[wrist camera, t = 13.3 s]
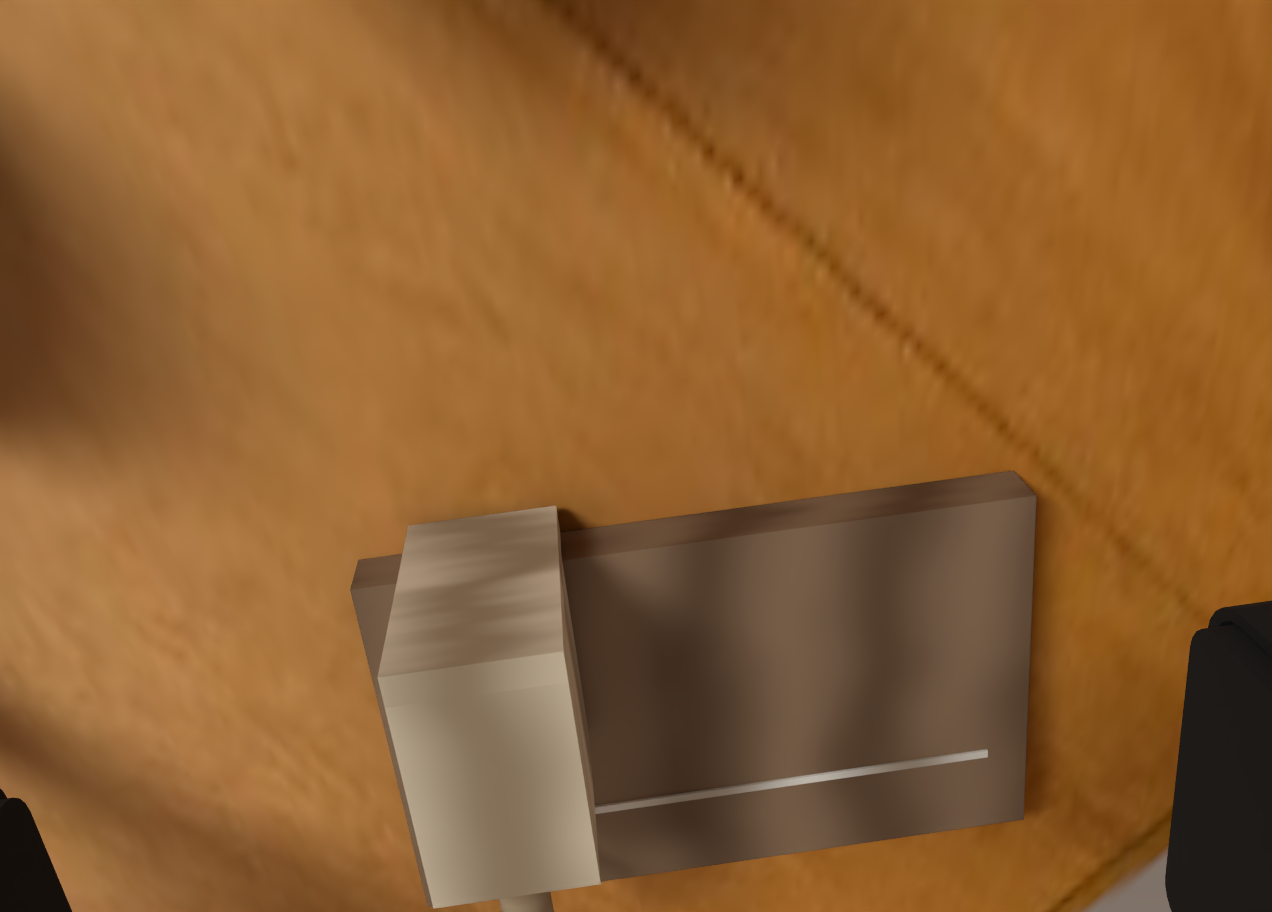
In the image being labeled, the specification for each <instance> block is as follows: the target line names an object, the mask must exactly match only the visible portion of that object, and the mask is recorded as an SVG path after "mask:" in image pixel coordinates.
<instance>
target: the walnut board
mask: <svg viewBox="0 0 1272 912" xmlns="http://www.w3.org/2000/svg"><path fill="white" fill-rule="evenodd" d="M1035 519H1036V495H1035V493H1034V492H1033V491H1032V490H1031V489H1030V488H1029V487H1028V486H1027V485H1026V484H1025V483H1024V481H1023V480H1022V479H1021V478H1020V477H1019V476H1018V475H1017V474H1016V473H1015V472H1014V471H1008V472H1000V473H993V474H986V475H978V476H971V477H964V478H956V479H949V480H942V481H934V482H927V483H920V484H912V485H905V486H898V487H890V488H883V489H876V490H868V491H861V492H854V493H846V494H839V495H832V496H824V497H817V498H810V499H802V500H795V501H788V502H780V503H773V504H766V505H758V506H751V507H744V508H736V509H729V510H722V511H714V512H707V513H700V514H693V515H685V516H678V517H671V518H663V519H656V520H649V521H641V522H634V523H627V524H619V525H612V526H605V527H597V528H590V529H583V530H575V531H568V532H561V533H560V538H561V556H562V563H563V570H564V576H565V583H566V589H567V596H568V602H569V609H570V615H571V622H572V628H573V635H574V641H575V647H576V654H577V660H578V667H579V673H580V680H581V686H582V693H583V699H584V706H585V712H586V719H587V725H588V732H589V739H590V752H591V765H592V778H593V791H594V804H595V816H596V829H597V842H598V855H599V868H600V881H608V880H614V879H621V878H628V877H635V876H642V875H648V874H655V873H662V872H669V871H676V870H683V869H689V868H696V867H703V866H710V865H717V864H723V863H730V862H737V861H744V860H751V859H757V858H764V857H771V856H778V855H785V854H792V853H798V852H805V851H812V850H819V849H826V848H832V847H839V846H846V845H853V844H860V843H866V842H873V841H880V840H887V839H894V838H901V837H907V836H914V835H921V834H928V833H935V832H941V831H948V830H955V829H962V828H969V827H975V826H982V825H989V824H996V823H1003V822H1010V821H1016V820H1023V819H1024V797H1025V771H1026V746H1027V721H1028V696H1029V671H1030V645H1031V620H1032V595H1033V570H1034V545H1035ZM401 559H402V554H399V555H392V556H385V557H377V558H370V559H363V560H358V563H357V567H356V571H355V574H354V578H353V582H352V585H351V589H350V591H351V595H352V599H353V603H354V607H355V611H356V615H357V619H358V623H359V627H360V631H361V636H362V640H363V644H364V648H365V652H366V656H367V660H368V664H369V668H370V672H371V676H372V680H373V685H374V689H375V693H376V697H377V701H378V705H379V709H380V713H381V717H382V721H383V725H384V729H385V734H386V738H387V742H388V746H389V750H390V754H391V758H392V762H393V766H394V770H395V774H396V779H397V783H398V787H399V791H400V795H401V799H402V803H403V807H404V811H405V815H406V819H407V823H408V828H409V832H410V836H411V840H412V844H413V848H414V852H415V856H416V860H417V864H418V868H419V872H420V877H421V881H422V885H423V889H424V893H425V897H426V901H427V905H428V907H430V906H433V905H432V901H431V896H430V892H429V888H428V884H427V880H426V876H425V872H424V868H423V863H422V859H421V855H420V851H419V847H418V843H417V839H416V835H415V830H414V826H413V822H412V818H411V814H410V810H409V806H408V802H407V797H406V793H405V789H404V785H403V781H402V777H401V773H400V769H399V764H398V760H397V756H396V752H395V748H394V744H393V740H392V736H391V731H390V727H389V723H388V719H387V715H386V711H385V707H384V703H383V698H382V694H381V690H380V686H379V682H378V678H377V677H378V672H379V668H380V663H381V658H382V653H383V648H384V643H385V638H386V633H387V628H388V623H389V618H390V613H391V608H392V604H393V599H394V594H395V589H396V584H397V579H398V574H399V569H400V564H401Z"/></svg>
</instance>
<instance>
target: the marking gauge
mask: <svg viewBox="0 0 1272 912" xmlns="http://www.w3.org/2000/svg"><path fill="white" fill-rule="evenodd" d="M377 678H378V682H379V686H380V690H381V694H382V698H383V703H384V707H385V711H386V715H387V719H388V723H389V727H390V731H391V736H392V740H393V744H394V748H395V752H396V756H397V760H398V764H399V769H400V773H401V777H402V781H403V785H404V789H405V793H406V797H407V802H408V806H409V810H410V814H411V818H412V822H413V826H414V830H415V835H416V839H417V843H418V847H419V851H420V855H421V859H422V863H423V868H424V872H425V876H426V880H427V884H428V888H429V892H430V896H431V901H432V905H433V909H435V908H441V907H448V906H455V905H462V904H469V903H475V902H482V901H489V900H496V899H499V901H500V906H501V911H502V912H554V910H553V904H552V899H551V893H550V891H557V890H564V889H571V888H578V887H584V886H591V885H598V884H601V881H600V868H599V855H598V842H597V829H596V816H595V804H594V791H593V778H592V765H591V752H590V739H589V732H588V725H587V719H586V712H585V706H584V699H583V693H582V686H581V680H580V673H579V667H578V660H577V654H576V647H575V641H574V635H573V628H572V622H571V615H570V609H569V602H568V596H567V589H566V583H565V576H564V570H563V563H562V556H561V538H560V528H559V521H558V514H557V508H556V506H549V507H542V508H535V509H527V510H520V511H512V512H505V513H498V514H490V515H483V516H476V517H468V518H461V519H453V520H446V521H439V522H431V523H424V524H417V525H409V526H408V530H407V535H406V540H405V544H404V549H403V554H402V559H401V564H400V569H399V574H398V579H397V584H396V589H395V594H394V599H393V604H392V608H391V613H390V618H389V623H388V628H387V633H386V638H385V643H384V648H383V653H382V658H381V663H380V668H379V672H378V677H377Z"/></svg>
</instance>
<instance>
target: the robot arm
mask: <svg viewBox="0 0 1272 912" xmlns="http://www.w3.org/2000/svg"><path fill="white" fill-rule="evenodd" d="M1165 880H1166V881H1165V885H1166V892H1167V898H1168V901H1169V905H1170V908H1171V911H1172V912H1272V601H1266V602H1259V603H1252V604H1245V605H1238V606H1231V607H1224V608H1221V609H1219V610H1217V611H1215V613H1214V614H1213V616H1212V617H1211V619H1210V622H1209V626H1208V628H1206V629H1201V630H1199V631H1197V632H1196V633H1195V634H1194V636H1193V637H1192V641H1191V646H1190V653H1189V663H1188V672H1187V681H1186V690H1185V700H1184V709H1183V718H1182V728H1181V737H1180V746H1179V755H1178V765H1177V774H1176V783H1175V792H1174V802H1173V811H1172V820H1171V829H1170V839H1169V848H1168V857H1167V866H1166V876H1165ZM0 912H72V910H71V908H70V905H69V903H68V901H67V898H66V896H65V893H64V891H63V889H62V886H61V884H60V881H59V879H58V877H57V874H56V872H55V869H54V867H53V865H52V862H51V860H50V857H49V855H48V853H47V850H46V848H45V845H44V843H43V841H42V838H41V836H40V833H39V831H38V829H37V826H36V824H35V821H34V819H33V817H32V814H31V812H30V810H29V808H28V807H27V805H26V803H24V802H23V801H22V800H21V799H18V798H8V799H7V797H6V795H5V794H4V792H3V791H2V790H1V789H0Z"/></svg>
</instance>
